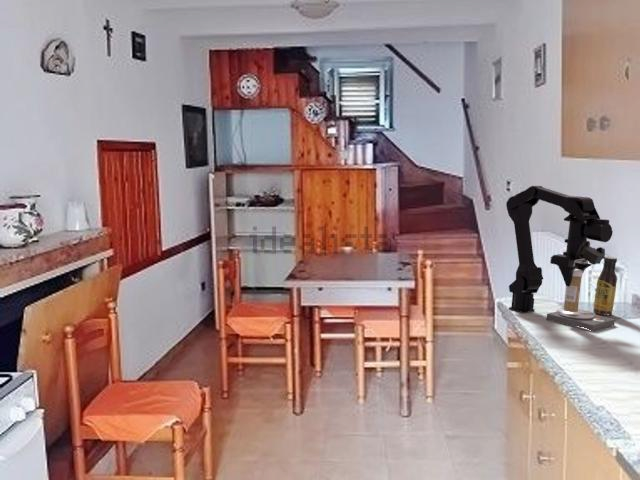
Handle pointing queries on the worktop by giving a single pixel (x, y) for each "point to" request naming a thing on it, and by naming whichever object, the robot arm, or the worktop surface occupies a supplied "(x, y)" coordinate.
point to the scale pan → (576, 314)
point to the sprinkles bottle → (573, 292)
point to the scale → (583, 321)
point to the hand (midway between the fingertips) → (571, 285)
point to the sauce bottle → (606, 288)
